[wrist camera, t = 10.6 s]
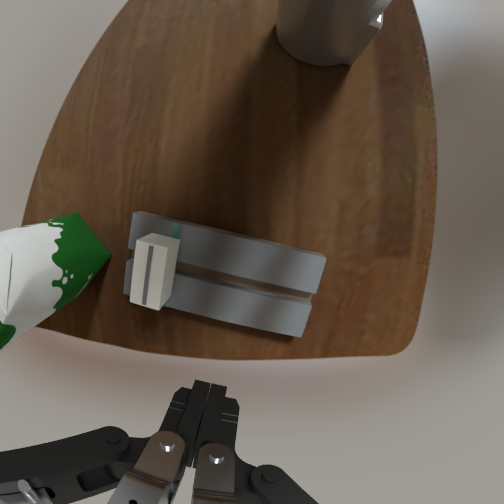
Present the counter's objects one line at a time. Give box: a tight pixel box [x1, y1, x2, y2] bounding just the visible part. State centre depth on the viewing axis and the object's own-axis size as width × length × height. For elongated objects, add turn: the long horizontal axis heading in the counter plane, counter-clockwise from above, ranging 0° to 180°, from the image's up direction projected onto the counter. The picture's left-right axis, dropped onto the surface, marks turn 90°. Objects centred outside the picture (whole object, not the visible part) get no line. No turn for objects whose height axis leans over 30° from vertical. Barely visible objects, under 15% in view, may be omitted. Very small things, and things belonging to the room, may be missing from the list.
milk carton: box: [0, 212, 111, 353], centre depth 21 cm, size 9×9×20 cm
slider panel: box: [123, 211, 327, 337], centre depth 30 cm, size 20×9×2 cm, turn 77°
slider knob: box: [130, 233, 180, 311], centre depth 27 cm, size 3×6×5 cm, turn 167°
